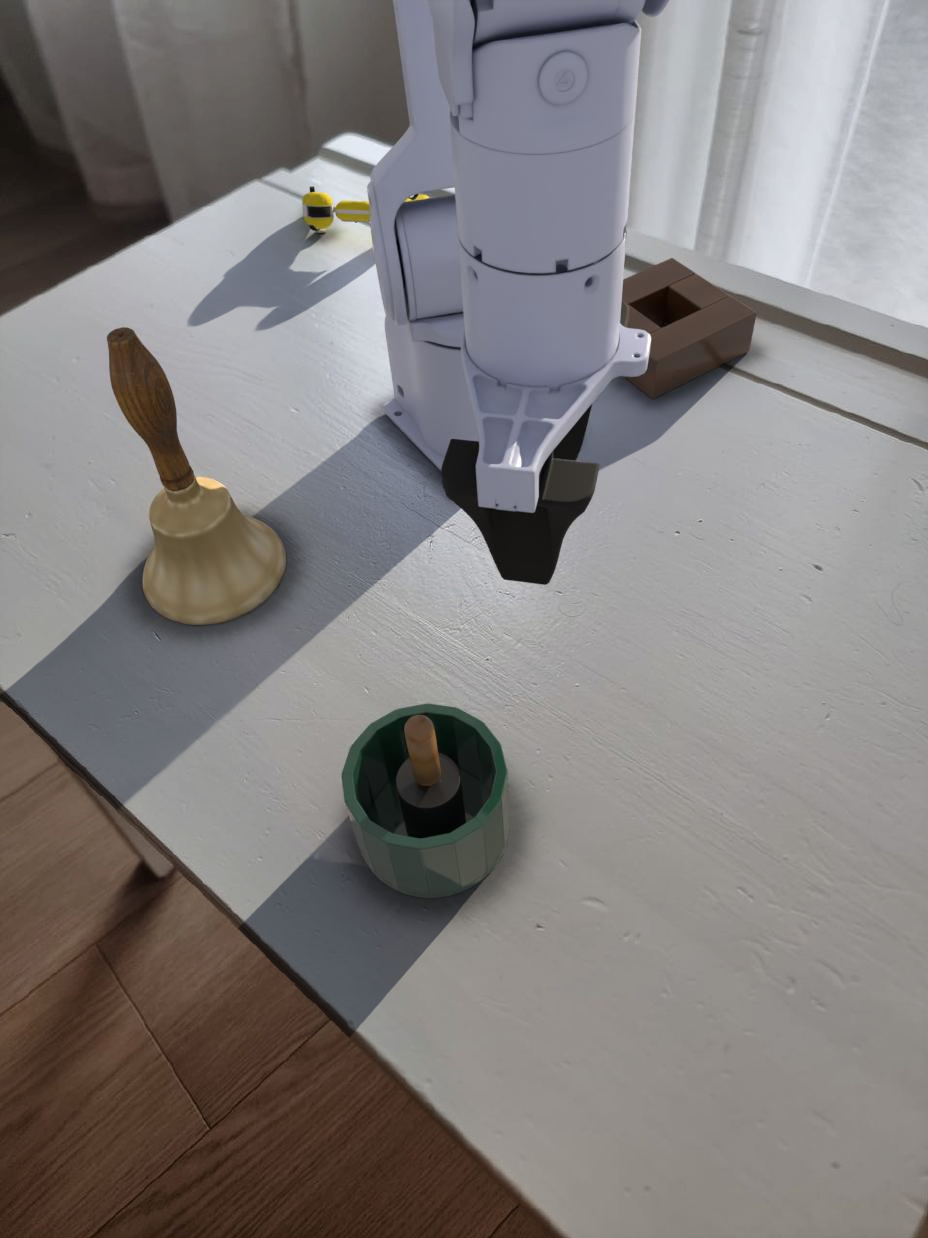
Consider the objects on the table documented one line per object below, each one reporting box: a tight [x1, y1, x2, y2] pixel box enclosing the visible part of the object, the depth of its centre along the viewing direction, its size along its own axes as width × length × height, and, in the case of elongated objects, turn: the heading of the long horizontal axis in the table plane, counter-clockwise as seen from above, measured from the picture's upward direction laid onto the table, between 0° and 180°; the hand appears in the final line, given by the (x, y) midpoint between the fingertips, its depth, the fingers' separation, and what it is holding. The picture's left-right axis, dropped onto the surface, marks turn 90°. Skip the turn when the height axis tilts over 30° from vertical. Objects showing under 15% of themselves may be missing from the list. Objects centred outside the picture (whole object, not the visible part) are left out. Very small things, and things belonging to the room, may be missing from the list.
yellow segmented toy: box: [301, 186, 430, 237], centre depth 79 cm, size 10×6×4 cm, turn 80°
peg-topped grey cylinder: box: [396, 715, 466, 839], centre depth 43 cm, size 3×3×8 cm
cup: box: [340, 703, 511, 899], centre depth 44 cm, size 7×7×5 cm
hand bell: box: [106, 326, 287, 626], centre depth 51 cm, size 8×8×16 cm
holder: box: [622, 257, 758, 400], centre depth 67 cm, size 8×8×3 cm
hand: (541, 511), depth 44 cm, fingers open, 7 cm apart
